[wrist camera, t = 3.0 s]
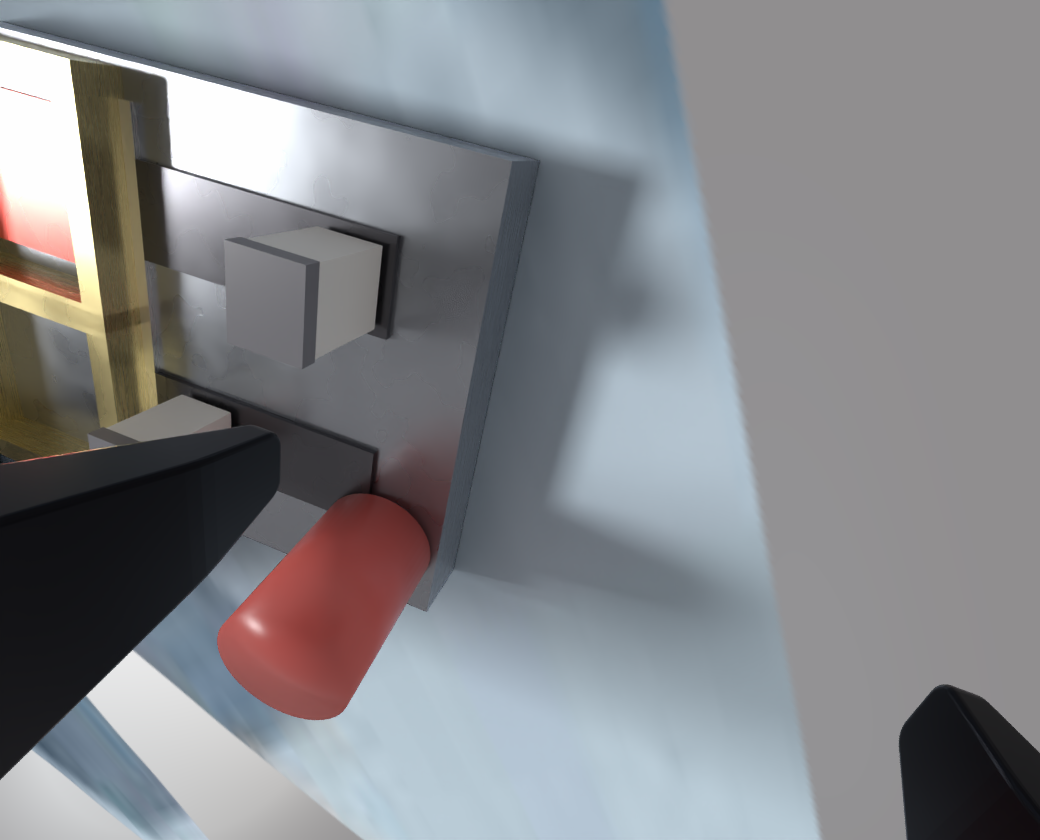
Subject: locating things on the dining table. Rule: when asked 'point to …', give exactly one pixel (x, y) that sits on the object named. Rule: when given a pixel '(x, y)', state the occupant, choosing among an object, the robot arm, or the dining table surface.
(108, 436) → the block
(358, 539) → the red rounded cylinder
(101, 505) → the robot arm
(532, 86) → the dining table surface
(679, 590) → the dining table surface
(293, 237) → the block
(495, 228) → the panel
